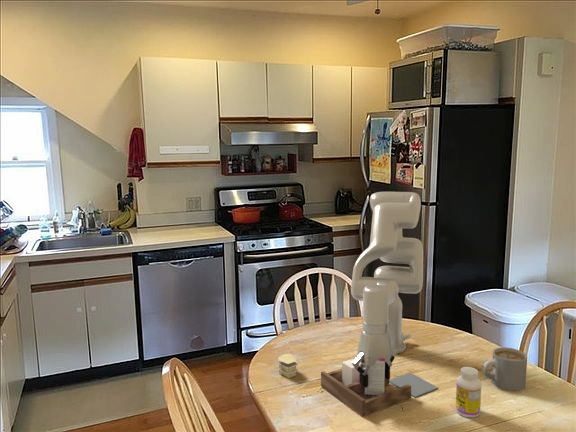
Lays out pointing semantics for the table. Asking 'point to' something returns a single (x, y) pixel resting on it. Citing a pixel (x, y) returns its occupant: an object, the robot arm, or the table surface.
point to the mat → (413, 384)
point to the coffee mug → (507, 369)
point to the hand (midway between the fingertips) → (374, 381)
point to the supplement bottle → (468, 393)
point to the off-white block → (349, 372)
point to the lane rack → (352, 392)
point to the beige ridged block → (287, 365)
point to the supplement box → (376, 379)
